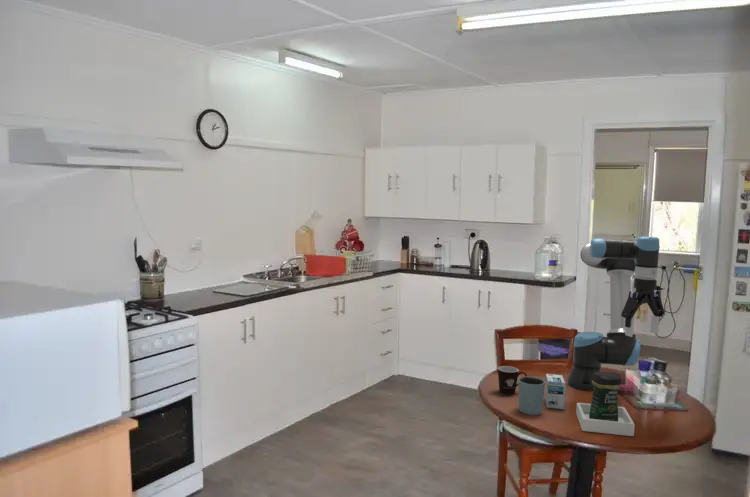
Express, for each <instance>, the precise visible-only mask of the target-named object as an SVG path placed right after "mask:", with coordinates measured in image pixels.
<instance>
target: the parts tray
mask: <svg viewBox="0 0 750 497" xmlns="http://www.w3.org/2000/svg"><path fill="white" fill-rule="evenodd" d="M590 408H591V403H586V402H576V410H575V412H576V413H575V414H576V416H577V420H578V422H579V426H580V428H581V431H583V432H592V433H600V434H610V435H617V436H618V435H619V436H627V437H635V426H636V425H635V423H634V421H633V419H632V418H631V416H630V414H629V412H628V411H627V409H626V407H625V406H618V422H617V421H608V420H598V419H589V413H590Z"/></svg>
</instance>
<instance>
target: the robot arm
mask: <svg viewBox="0 0 750 497" xmlns="http://www.w3.org/2000/svg"><path fill="white" fill-rule="evenodd" d="M660 248H661V246H660V238H659V237H656V236H655V237H654V236H644V235H643V236H638V237H637V239H615V238H614V239H613V238H592V239H591V240H590V243H588V244H586V245H584V246H583V247H582V248H581V250H580V253H579V254H580V259H581V261H582V262H583V264H585V265H586V266H589V267H591V268H594V269H599V270H600V269H602V270H603V269H604V270H605V272H606V275H607V276H608V277H609V287H610V288H609V291H610V292H609V294H610V295H609V296H610V298H609V300H610V301H609V302H610V303H609V304H610V305H609V307H610V309H609V312H610V314H609V315H610V316H609V317H610V318H609V319H610V322H609V323H610V329H609V330H608V331H607V333H606V336H604V335H603V333H601V332H597V331H586V332H585V331H584V332H580V333H577V334H576V335H575V337H574V342H573V355H572V356H573V357H572V367H571V369H570V372H569V375H568V377H567V385H569V386H570V387H572V388H574V389H578V390H581V391H582V390H583V391H588V392H589V391H590V392H591V391H592V392H593V384H592V378H593V374H594V372H602V364H603V365H615V366H624V367H625V366H626V367H627V366H629V367H630V366H635V365H636V364H637V363H638V361H639V357H640V355H641V354H640V353H641V341H640V339H638V338H636V333H635V332H634V324H635V323H634V319H633V318H634V316H635V315H636V313H637V311H638V310H639V308H640V307H641V306H642V305H644V304H647V305H648V307H649V309H650V311H651V313H652V315H651V318H650V319H651V320H650V322H651V323H650V333H652V334H656V335H658V334H659V327H660V326H659V325H660V320H661V319H660V318H662V317H664V315H665V308H664V305H663V301H662V299H661V291H660V290H657V286H658V284H657V283H658V282H657V278H658V266H659V256H660ZM633 276H634V277H635V278H634V283H633V287H634V288H635V292H634V291H632V277H633Z"/></svg>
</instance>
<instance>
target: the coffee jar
mask: <svg viewBox="0 0 750 497" xmlns="http://www.w3.org/2000/svg"><path fill="white" fill-rule="evenodd" d="M592 384H593V391H592V395H591V396H592V397H591V403H590V404H591V408H590V413H589V419H598V420H608V421H617V422H618V407H619V391H620V389H621V386H622V378H621V375H620V374H619V373H617V372H615V371H601V372H594V374H593V378H592Z"/></svg>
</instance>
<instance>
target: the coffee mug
mask: <svg viewBox="0 0 750 497" xmlns="http://www.w3.org/2000/svg"><path fill="white" fill-rule="evenodd" d="M519 371H520V370H519V369H518V368H517V367H514V366H508V365H503V366H501V365H500V366H499V367H497V376H498V377H497V378H498V388H499V389H498V391H499V393H500V394H502V395H503V396H504V395H506V396H513V395H515V394H516V389H517V387H518V379H519V375H523V374H524V377H528V375H527V373H526V372H524V371H520V372H519Z"/></svg>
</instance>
